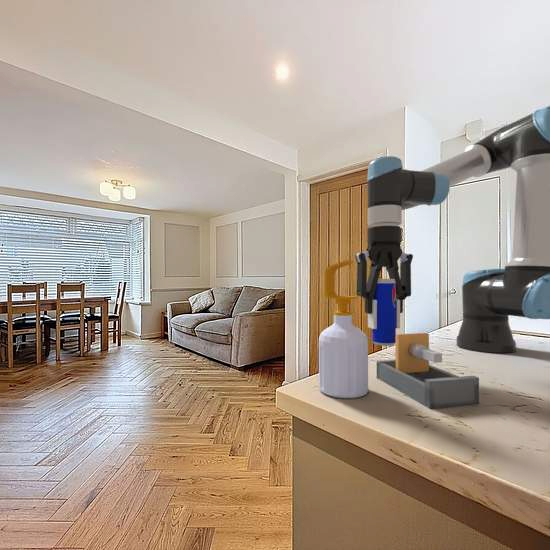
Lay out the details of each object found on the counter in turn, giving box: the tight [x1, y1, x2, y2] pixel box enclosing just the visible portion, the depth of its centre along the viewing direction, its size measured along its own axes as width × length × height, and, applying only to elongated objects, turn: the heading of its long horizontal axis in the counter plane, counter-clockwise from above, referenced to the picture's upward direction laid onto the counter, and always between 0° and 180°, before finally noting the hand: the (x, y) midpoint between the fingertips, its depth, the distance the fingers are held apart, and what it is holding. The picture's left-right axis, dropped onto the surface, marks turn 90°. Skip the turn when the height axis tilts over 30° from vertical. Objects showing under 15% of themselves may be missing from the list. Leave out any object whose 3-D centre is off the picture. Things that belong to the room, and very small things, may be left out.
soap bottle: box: [318, 259, 369, 399], centre depth 63 cm, size 9×9×25 cm
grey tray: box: [376, 358, 480, 409], centre depth 64 cm, size 10×17×4 cm, turn 12°
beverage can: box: [371, 278, 397, 347], centre depth 77 cm, size 5×5×15 cm
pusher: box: [395, 332, 443, 373], centre depth 63 cm, size 7×8×8 cm
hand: (383, 327), depth 77 cm, fingers closed on beverage can, 5 cm apart
